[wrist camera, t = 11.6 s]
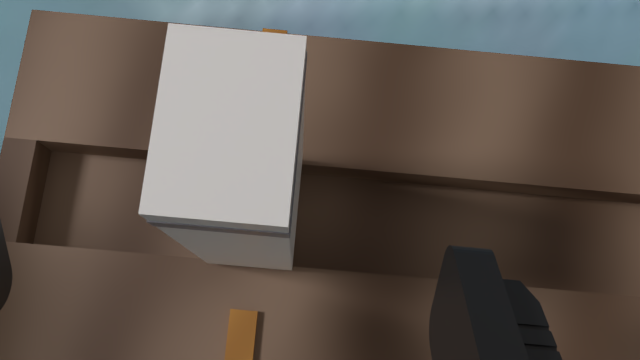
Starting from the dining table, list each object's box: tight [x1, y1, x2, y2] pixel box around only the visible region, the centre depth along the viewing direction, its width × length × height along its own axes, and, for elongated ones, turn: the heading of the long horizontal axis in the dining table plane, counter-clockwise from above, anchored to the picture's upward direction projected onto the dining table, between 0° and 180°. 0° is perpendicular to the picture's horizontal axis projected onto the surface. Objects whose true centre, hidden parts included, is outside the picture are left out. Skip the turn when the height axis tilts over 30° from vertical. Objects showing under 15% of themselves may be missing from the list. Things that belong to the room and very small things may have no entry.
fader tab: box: [138, 23, 307, 271], centre depth 15 cm, size 2×4×9 cm
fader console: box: [0, 10, 640, 360], centre depth 20 cm, size 25×12×2 cm, turn 85°
